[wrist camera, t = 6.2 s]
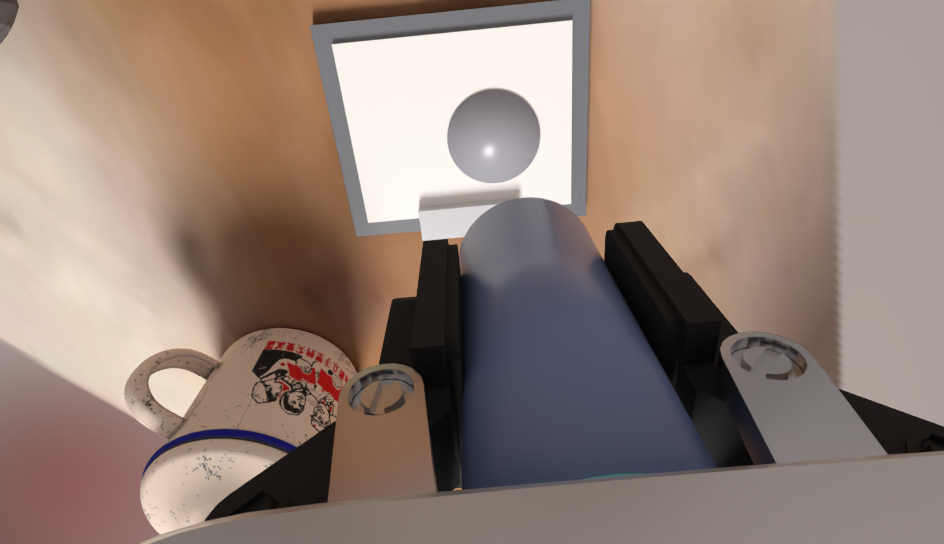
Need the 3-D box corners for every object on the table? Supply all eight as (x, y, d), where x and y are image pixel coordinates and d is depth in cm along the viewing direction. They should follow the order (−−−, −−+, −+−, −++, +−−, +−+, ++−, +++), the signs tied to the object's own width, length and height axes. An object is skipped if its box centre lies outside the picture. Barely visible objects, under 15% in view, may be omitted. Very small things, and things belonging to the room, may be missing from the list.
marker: (594, 312, 14) (804, 800, 5) (462, 323, 14) (472, 824, 6) (598, 186, 12) (918, 624, 4) (447, 200, 12) (430, 661, 4)
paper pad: (587, -4, 22) (595, -3, 21) (583, 215, 27) (589, 225, 26) (312, 24, 22) (304, 26, 21) (358, 236, 27) (354, 246, 26)
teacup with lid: (395, 381, 32) (366, 563, 22) (305, 453, 35) (243, 643, 25) (231, 260, 28) (100, 419, 17) (144, 354, 30) (-13, 537, 20)
